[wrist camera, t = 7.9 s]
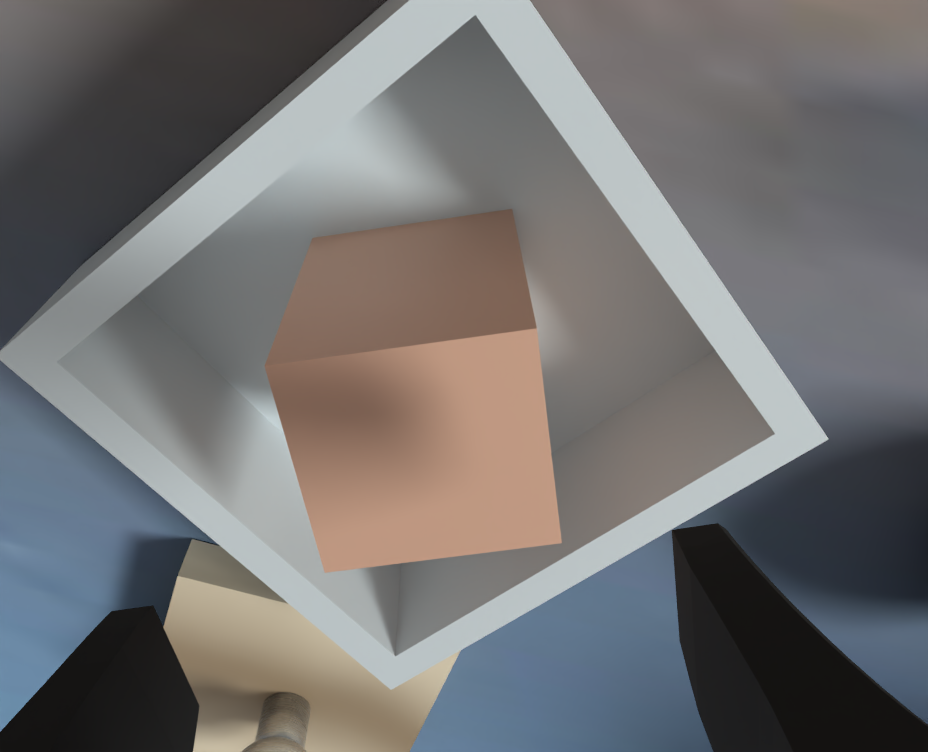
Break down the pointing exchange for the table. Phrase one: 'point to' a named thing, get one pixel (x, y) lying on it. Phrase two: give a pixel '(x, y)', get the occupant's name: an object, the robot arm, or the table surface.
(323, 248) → the block
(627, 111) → the table surface
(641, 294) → the bin
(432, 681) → the base
